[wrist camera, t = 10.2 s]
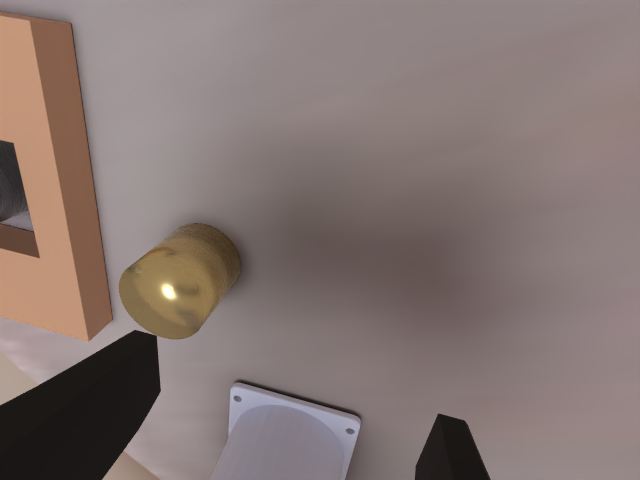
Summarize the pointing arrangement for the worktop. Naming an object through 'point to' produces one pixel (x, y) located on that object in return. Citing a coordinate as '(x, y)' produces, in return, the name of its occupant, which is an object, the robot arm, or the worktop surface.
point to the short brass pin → (180, 281)
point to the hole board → (49, 185)
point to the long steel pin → (10, 183)
